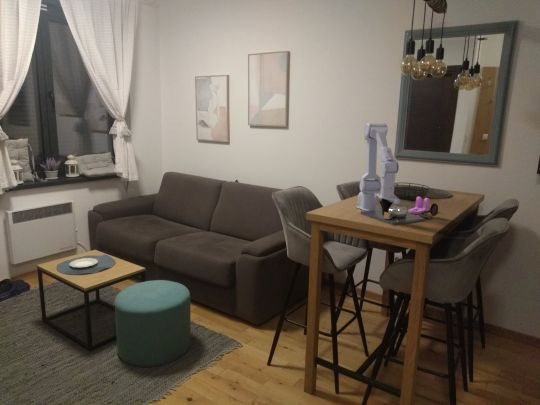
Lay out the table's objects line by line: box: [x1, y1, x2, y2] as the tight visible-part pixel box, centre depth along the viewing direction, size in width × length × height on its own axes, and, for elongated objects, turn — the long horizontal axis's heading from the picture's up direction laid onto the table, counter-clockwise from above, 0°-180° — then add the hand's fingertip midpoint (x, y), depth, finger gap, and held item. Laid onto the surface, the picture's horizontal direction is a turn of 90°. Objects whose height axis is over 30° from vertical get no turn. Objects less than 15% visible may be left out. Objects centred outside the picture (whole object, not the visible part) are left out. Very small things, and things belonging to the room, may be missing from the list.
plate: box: [360, 208, 426, 226], centre depth 197 cm, size 22×20×1 cm
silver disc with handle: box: [384, 204, 408, 219], centre depth 194 cm, size 15×9×4 cm, turn 138°
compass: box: [418, 202, 439, 220], centre depth 197 cm, size 8×8×7 cm
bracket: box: [407, 196, 430, 215], centre depth 210 cm, size 13×6×7 cm, turn 135°
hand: (385, 215), depth 192 cm, fingers closed, pressing on silver disc with handle
